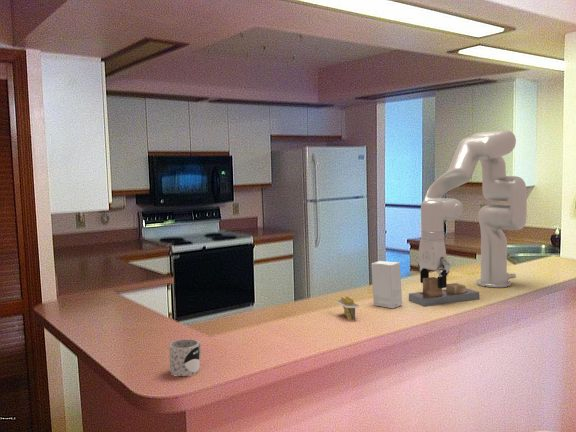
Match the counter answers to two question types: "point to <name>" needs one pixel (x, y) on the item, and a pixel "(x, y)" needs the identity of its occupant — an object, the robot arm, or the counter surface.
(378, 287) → the skincare box
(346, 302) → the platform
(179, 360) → the mug
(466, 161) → the robot arm
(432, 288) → the walnut block
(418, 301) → the grey flat frame
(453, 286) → the seated oak block
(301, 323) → the counter surface
